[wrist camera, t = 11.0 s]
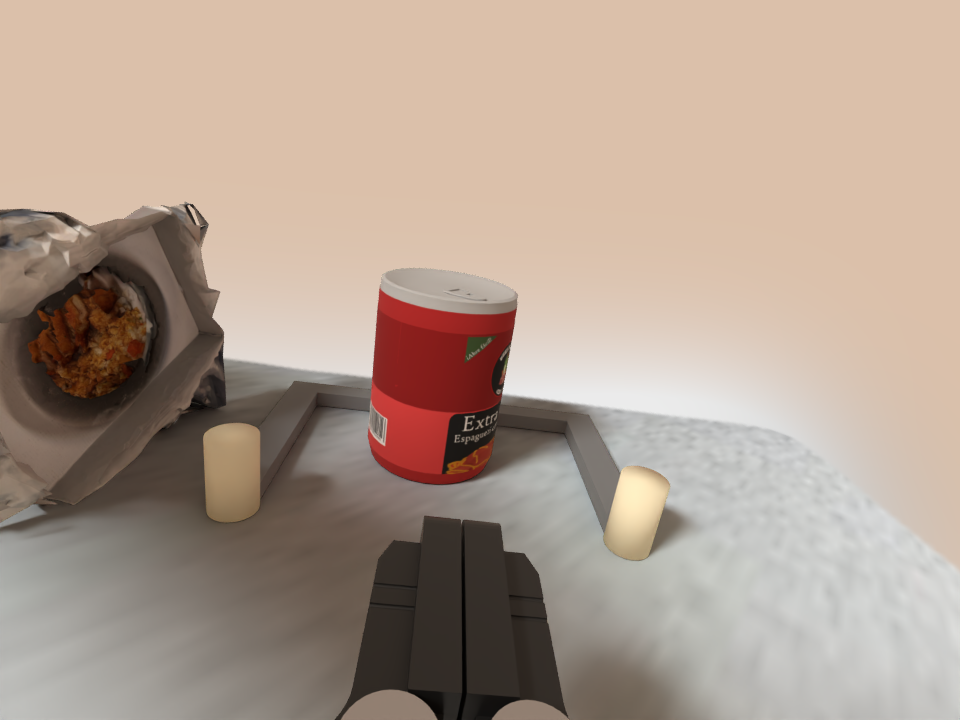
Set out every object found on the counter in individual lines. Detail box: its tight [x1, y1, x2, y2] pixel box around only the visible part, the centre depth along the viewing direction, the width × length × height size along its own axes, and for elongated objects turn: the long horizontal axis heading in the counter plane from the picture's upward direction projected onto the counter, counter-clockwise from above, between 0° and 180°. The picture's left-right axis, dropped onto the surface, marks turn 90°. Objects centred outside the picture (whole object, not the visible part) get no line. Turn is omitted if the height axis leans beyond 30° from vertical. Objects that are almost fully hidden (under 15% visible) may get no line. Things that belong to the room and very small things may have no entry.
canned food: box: [368, 268, 518, 484], centre depth 31 cm, size 8×8×11 cm
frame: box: [203, 381, 670, 560], centre depth 32 cm, size 22×15×4 cm, turn 92°
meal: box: [0, 202, 226, 522], centre depth 26 cm, size 15×4×13 cm, turn 169°
